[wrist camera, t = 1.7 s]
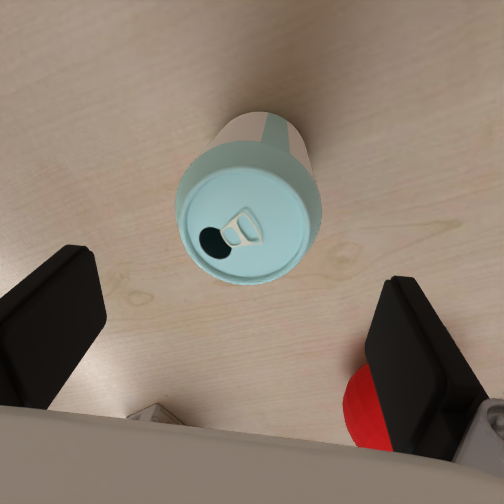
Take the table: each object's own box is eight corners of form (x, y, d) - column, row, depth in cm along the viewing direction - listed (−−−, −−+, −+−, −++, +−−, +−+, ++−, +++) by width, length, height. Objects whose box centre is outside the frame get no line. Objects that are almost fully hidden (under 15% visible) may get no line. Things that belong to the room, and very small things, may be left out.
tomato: (445, 391, 36) (498, 497, 27) (350, 409, 38) (370, 510, 30) (430, 323, 31) (488, 423, 22) (323, 348, 34) (338, 447, 25)
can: (281, 218, 27) (281, 316, 16) (200, 183, 26) (147, 264, 15) (324, 136, 23) (359, 195, 13) (233, 92, 22) (192, 118, 12)
